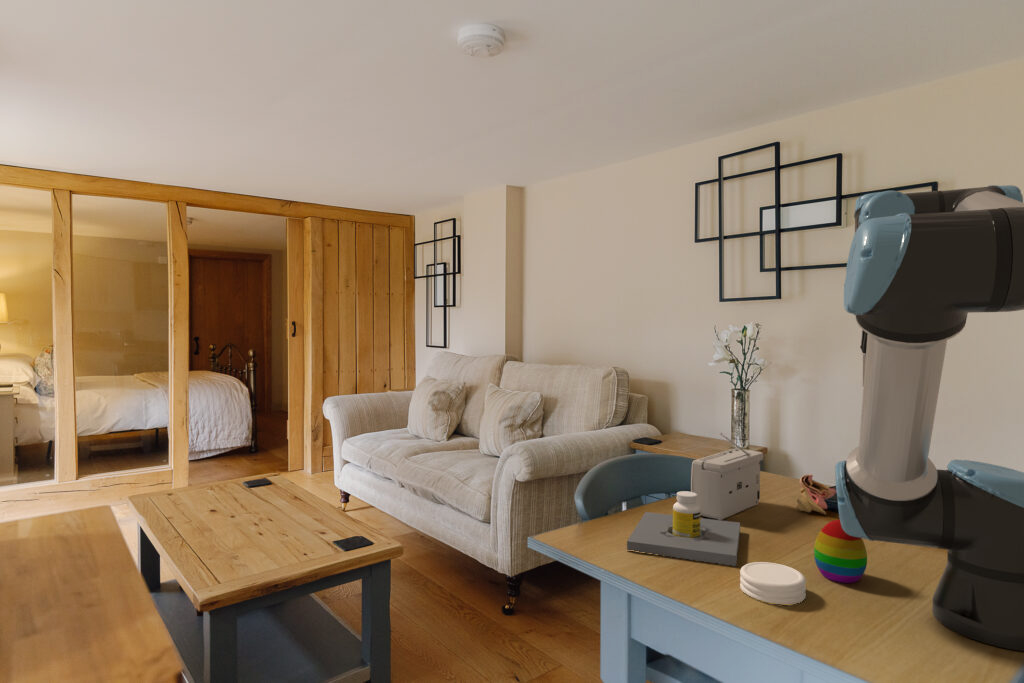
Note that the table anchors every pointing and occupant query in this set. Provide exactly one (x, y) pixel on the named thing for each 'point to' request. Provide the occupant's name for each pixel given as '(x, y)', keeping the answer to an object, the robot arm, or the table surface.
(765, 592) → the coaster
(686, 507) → the supplement bottle
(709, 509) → the stereo radio cassette player
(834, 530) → the decorative egg
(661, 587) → the table surface
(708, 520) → the holder plate
